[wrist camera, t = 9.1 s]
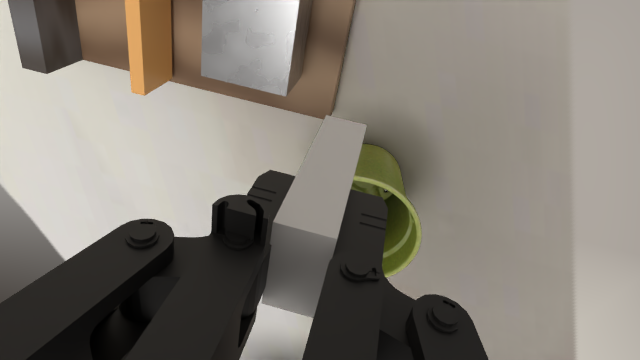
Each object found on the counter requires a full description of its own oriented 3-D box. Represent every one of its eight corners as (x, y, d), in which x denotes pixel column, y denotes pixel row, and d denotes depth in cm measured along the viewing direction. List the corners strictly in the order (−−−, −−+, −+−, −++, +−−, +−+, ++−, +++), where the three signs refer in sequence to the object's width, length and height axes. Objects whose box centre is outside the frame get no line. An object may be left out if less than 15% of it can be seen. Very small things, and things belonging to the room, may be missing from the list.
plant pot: (338, 105, 34) (316, 154, 27) (441, 153, 35) (447, 213, 27) (299, 190, 40) (273, 250, 32) (390, 231, 40) (383, 299, 33)
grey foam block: (300, 78, 31) (286, 96, 28) (224, 59, 32) (201, 75, 28) (318, -41, 27) (304, -37, 24) (229, -61, 27) (203, -59, 24)
